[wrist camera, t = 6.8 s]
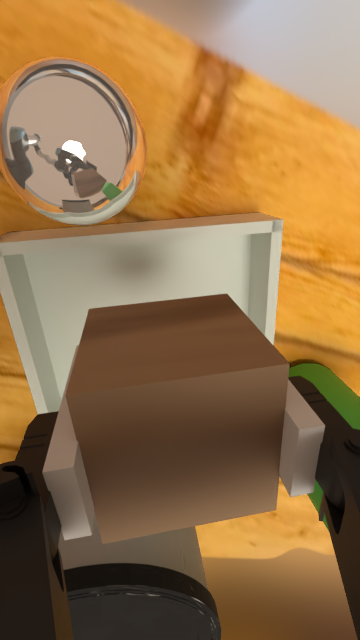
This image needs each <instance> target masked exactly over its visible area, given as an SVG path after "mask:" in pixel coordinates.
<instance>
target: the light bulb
mask: <svg viewBox="0 0 360 640" xmlns="http://www.w3.org/2000/svg"><path fill="white" fill-rule="evenodd" d="M146 165H147V144H146V136H145V132H144V128H143V125H142V122H141V119H140V116H139V114H138V112H137V110H136V108H135V106H134V104H133V102H132V100H131V99H130V98H129V96H128V95H127V94H126V92H125V91H124V90H123V88H122V87H121V86H120V85H119V84H118V83H117V82H116V81H115V80H114V79H113V78H111V77H110V76H109V75H108V74H107V73H105V72H104V71H102V70H101V69H99V68H97V67H96V66H94V65H92V64H90V63H87V62H85V61H82V60H79V59H76V58H70V57H63V56H55V57H44V58H41V59H38V60H35V61H32V62H29V63H27V64H25V65H24V66H22V67H21V68H19V69H18V70H16V71H15V72H14V73H13V74H12V75H11V76H10V77H9V78H8V79H7V80H6V81H5V83H4V84H3V86H2V87H1V89H0V169H1V171H2V173H3V175H4V177H5V179H6V181H7V182H8V183H9V185H10V186H11V188H12V189H13V190H14V192H15V193H16V194H17V195H18V196H19V197H20V198H21V199H22V200H23V201H24V202H25V203H26V204H27V205H28V206H30V207H31V208H33V209H34V210H35V211H37V212H38V213H40V214H41V215H44V216H46V217H48V218H50V219H52V220H54V221H58V222H62V223H66V224H72V225H88V224H95V223H99V222H101V221H104V220H107V219H110V218H111V217H113V216H115V215H116V214H118V213H119V212H121V211H122V210H123V209H124V208H125V207H126V206H127V205H128V204H129V203H130V202H131V201H132V199H133V198H134V197H135V195H136V194H137V192H138V190H139V188H140V186H141V183H142V181H143V179H144V174H145V170H146Z"/></svg>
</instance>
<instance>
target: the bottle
mask: <svg viewBox="0 0 360 640" xmlns="http://www.w3.org/2000/svg"><path fill="white" fill-rule="evenodd" d="M293 376H302V377H303V378H305V379H307V380H308V381H310V382H312V383H313V384H314V385H315V387H316V388H317V389H318V390H319V391H320V394H321V393H322V394H323V396H324V397H325V398H326V399H327V401H329V402H330V403H331V404H332V406H333V407H334V408H335V409H336V410H337V411H338V412H339V413H340V414H341V416H342V417H343V418H344V419H345V420H346V421H347V422H348V423H349V425H350V426H351V427H352V428H354V429H359V430H360V397H359V396H358V395H356V394H355V393H354V392H353V391H352V390H351V389H350V388H349V387H348V386H347V385H346V384H345V383H344V382H343V381H342V380H341V379H339V378H338V377H337V376H336V375H335V374H334V373H333V372H332V371H331V370H330V369H329V368H327V367H325V366H322V365H320V364H317V363H303V364H300V365H296V366H293V367H290V368H289V376H288V377H293ZM322 494H323V490H322V489H321V487H320V485H319V484H318V482H317V481H315V486H314V492H313V493H309V494H308V496H309V498H310V500H311V501H312V503H313V505H314V506H315V508H316V510H317V512H318V513H319V510H320V505H321V499H322ZM323 522H324V524H325V525H326V527H327V529H328V530H329V528H328V524H327V521H326V517H325V513H324V518H323Z"/></svg>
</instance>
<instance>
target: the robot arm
mask: <svg viewBox="0 0 360 640" xmlns="http://www.w3.org/2000/svg"><path fill="white" fill-rule="evenodd" d="M78 347H79V345H77V346H76V349H75V353H74V357H73V361H72V364H71V368H70V372H69V375H68V379H67V383H66V386H65V390H64V394H63V397H62V401H61V405H60V409H59V411H57V412H50V413H43V414H38V415H37V416H36V417H35V418H34V420H33V421H32V422H31V423H30V424H29V425H28V427H27V430H26V433H25V435H24V440H23V441H22V443H21V446H20V450H19V451H18V454H17V457H16V459H15V461H11V462H6V463H2V464H0V640H74V637H73V630H72V624H71V617H70V610H69V604H68V597H67V591H66V584H65V578H64V571H63V564H62V558H61V554H60V551H59V548H58V544H59V538H60V532H61V531H62V534H63V537H64V540H69V539H74V538H80V537H85V536H90V535H92V529H93V517H94V504H93V500H92V496H91V492H90V488H89V484H88V480H87V476H86V472H85V468H84V464H83V459H82V455H81V451H80V447H79V443H78V441H77V440H76V436H75V432H74V428H73V424H72V420H71V416H70V412H69V408H68V404H67V400H66V396H65V395H66V391H67V387H68V384H69V380H70V376H71V373H72V369H73V365H74V362H75V358H76V354H77V351H78ZM279 476H280V478H281V480H282V482H283V484H284V486H285V488H286V490H287V492H288V493H289V495H290V497H293V496H299V495H304V494H309V493H313V492H314V486H315V481H317V482H318V484H319V485H320V487H321V489H322V490H323V494H322V499H321V505H320V510H319V521H323V518H324V513H325V517H326V521H327V524H328V528H329V532H330V536H331V540H332V543H333V547H334V551H335V555H336V558H337V562H338V566H339V570H340V574H341V578H342V581H343V585H344V589H345V593H346V597H347V600H348V604H349V608H350V612H351V615H352V619H353V623H354V627H355V631H356V634H357V638H358V640H360V430H359V429H354V428H352V427H351V426H350V425H349V423H348V422H347V421H346V420H345V419H344V418H343V417H342V416H341V414H340V413H339V412H338V411H337V410H336V409H335V408H334V407H333V406H332V404H331V403H330V402H329V401H327V399H326V398H325V397H324V396H323V394H322V393H321V394H320V391H319V390H318V389H317V388H316V387H315V385H314V384H313V383H312V382H310V381H308V380H307V379H305V378H303V377H302V376H293V377H288V387H287V398H286V409H285V414H284V425H283V435H282V445H281V456H280V466H279Z"/></svg>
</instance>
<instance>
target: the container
mask: <svg viewBox="0 0 360 640" xmlns="http://www.w3.org/2000/svg"><path fill="white" fill-rule="evenodd" d="M58 548H59V551H60V554H61V558H62V564H63V571H64V578H65V584H66V591H67V597H68V604H69V610H70V617H71V624H72V630H73V637H74V640H220V639H221V627H220V622H219V618H218V613H217V608H216V604H215V601H214V599H213V597H212V595H211V594H210V592H209V591H208V588H207V582H206V578H205V573H204V568H203V563H202V558H201V553H200V548H199V543H198V539H197V534H196V529H195V526H192V527H187V528H182V529H177V530H172V531H167V532H162V533H156V534H151V535H146V536H141V537H136V538H131V539H126V540H121V541H116V542H111V543H105V544H102V540H101V536H100V532H99V528H98V524H97V520H96V516H95V512H94V517H93V529H92V535H90V536H85V537H80V538H74V539H69V540H64V537H63V534H62V531H61V532H60V538H59V544H58Z"/></svg>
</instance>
